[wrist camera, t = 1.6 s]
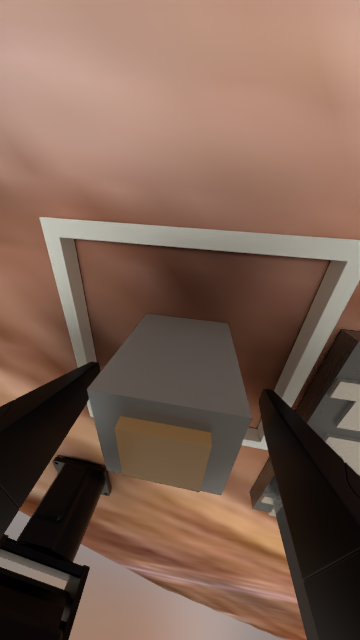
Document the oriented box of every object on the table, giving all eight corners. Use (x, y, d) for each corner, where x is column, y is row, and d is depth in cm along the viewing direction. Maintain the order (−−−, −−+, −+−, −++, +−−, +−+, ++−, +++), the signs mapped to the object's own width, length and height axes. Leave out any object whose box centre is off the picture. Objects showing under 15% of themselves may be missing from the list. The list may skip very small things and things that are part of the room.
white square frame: (264, 436, 14) (268, 450, 13) (97, 406, 15) (90, 416, 14) (359, 241, 8) (380, 241, 7) (56, 219, 9) (39, 217, 8)
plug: (214, 383, 12) (222, 509, 7) (148, 373, 13) (101, 482, 7) (228, 323, 10) (256, 432, 4) (147, 313, 11) (78, 400, 5)
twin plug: (331, 526, 16) (400, 686, 10) (275, 514, 16) (312, 660, 11) (359, 504, 14) (467, 692, 8) (294, 490, 14) (353, 659, 9)
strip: (340, 512, 17) (351, 534, 16) (249, 492, 18) (253, 512, 17) (536, 352, 8) (596, 373, 7) (341, 329, 9) (363, 343, 8)
